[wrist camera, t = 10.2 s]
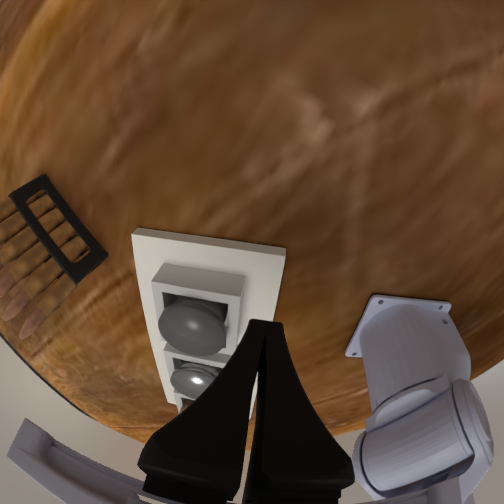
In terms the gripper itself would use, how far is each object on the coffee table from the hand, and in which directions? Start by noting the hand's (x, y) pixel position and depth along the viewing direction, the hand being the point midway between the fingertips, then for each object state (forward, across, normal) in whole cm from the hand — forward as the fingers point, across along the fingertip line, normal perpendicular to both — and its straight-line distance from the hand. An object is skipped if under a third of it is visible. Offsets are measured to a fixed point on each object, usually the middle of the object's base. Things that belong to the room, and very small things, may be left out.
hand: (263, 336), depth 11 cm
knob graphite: (+9, +5, +6) cm, 12 cm away
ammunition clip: (+10, +19, +1) cm, 22 cm away
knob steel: (+9, +5, +14) cm, 18 cm away
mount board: (+10, +5, +14) cm, 18 cm away
